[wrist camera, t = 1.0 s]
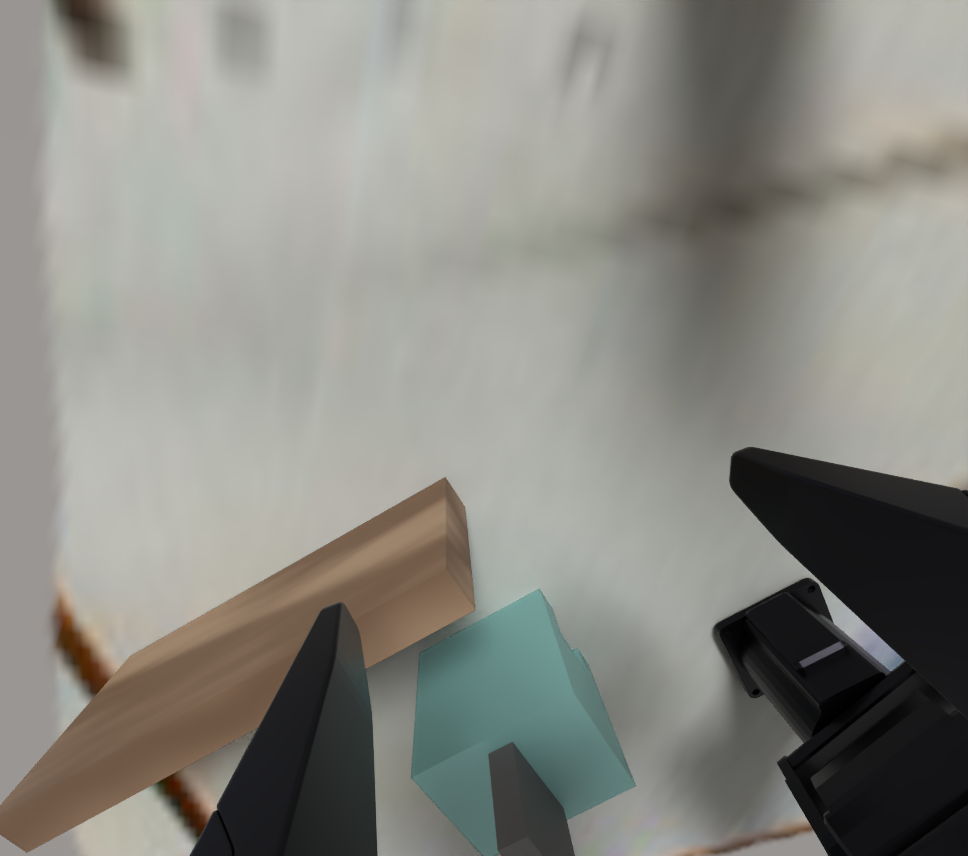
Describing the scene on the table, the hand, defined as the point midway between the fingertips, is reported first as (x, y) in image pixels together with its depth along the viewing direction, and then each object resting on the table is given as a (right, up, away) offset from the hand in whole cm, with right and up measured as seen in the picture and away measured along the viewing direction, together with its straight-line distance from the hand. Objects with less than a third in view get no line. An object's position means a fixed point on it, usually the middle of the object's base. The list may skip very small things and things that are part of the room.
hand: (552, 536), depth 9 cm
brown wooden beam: (-10, -8, +15) cm, 20 cm away
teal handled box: (0, -12, +17) cm, 20 cm away
